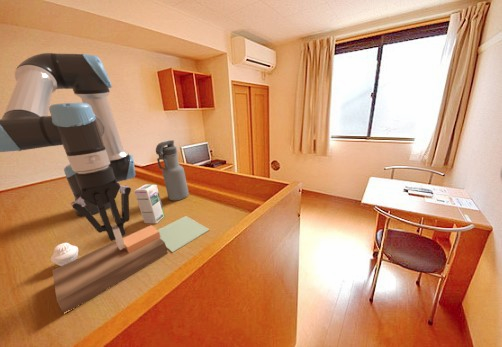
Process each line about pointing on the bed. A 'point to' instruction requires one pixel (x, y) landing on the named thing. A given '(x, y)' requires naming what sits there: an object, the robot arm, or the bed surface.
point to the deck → (101, 271)
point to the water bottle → (172, 171)
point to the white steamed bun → (64, 254)
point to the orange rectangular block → (141, 238)
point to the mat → (181, 233)
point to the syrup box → (150, 203)
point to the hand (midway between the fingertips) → (121, 246)
